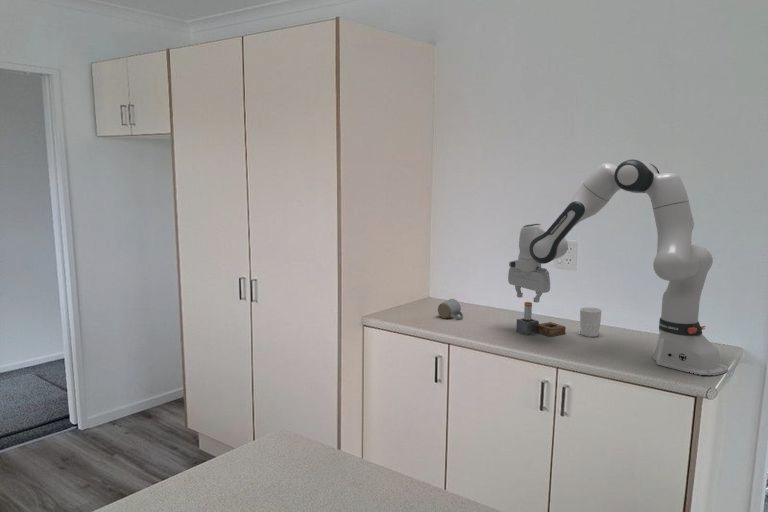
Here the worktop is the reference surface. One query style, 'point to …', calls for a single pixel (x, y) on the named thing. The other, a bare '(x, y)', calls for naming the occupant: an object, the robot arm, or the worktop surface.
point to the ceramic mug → (450, 309)
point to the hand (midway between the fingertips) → (527, 299)
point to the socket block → (527, 326)
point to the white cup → (590, 321)
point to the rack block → (551, 329)
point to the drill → (527, 311)
